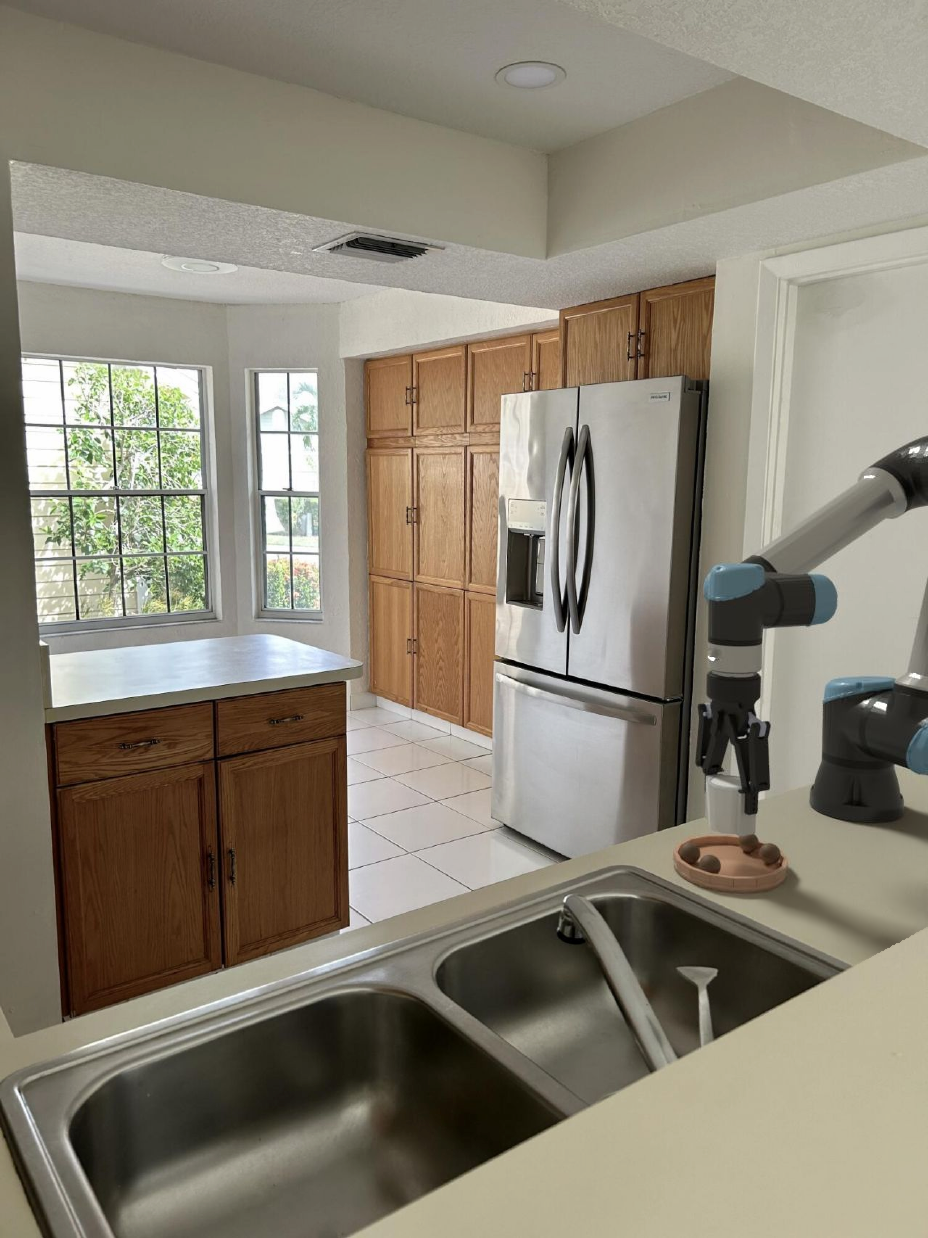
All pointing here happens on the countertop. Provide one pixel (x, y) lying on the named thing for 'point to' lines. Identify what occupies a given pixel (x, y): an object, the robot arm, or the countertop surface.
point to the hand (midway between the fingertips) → (729, 825)
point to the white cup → (723, 802)
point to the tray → (731, 866)
